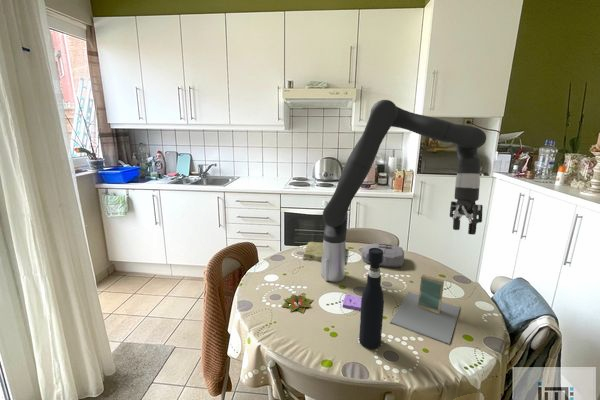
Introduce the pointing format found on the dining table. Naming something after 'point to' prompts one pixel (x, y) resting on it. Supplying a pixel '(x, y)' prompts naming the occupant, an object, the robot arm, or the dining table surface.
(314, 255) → the decorative tile
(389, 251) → the small grey backpack
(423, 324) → the rubber mat
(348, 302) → the sponges
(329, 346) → the dining table surface
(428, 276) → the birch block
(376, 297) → the black water bottle
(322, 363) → the dining table surface
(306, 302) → the green leafy rosette
